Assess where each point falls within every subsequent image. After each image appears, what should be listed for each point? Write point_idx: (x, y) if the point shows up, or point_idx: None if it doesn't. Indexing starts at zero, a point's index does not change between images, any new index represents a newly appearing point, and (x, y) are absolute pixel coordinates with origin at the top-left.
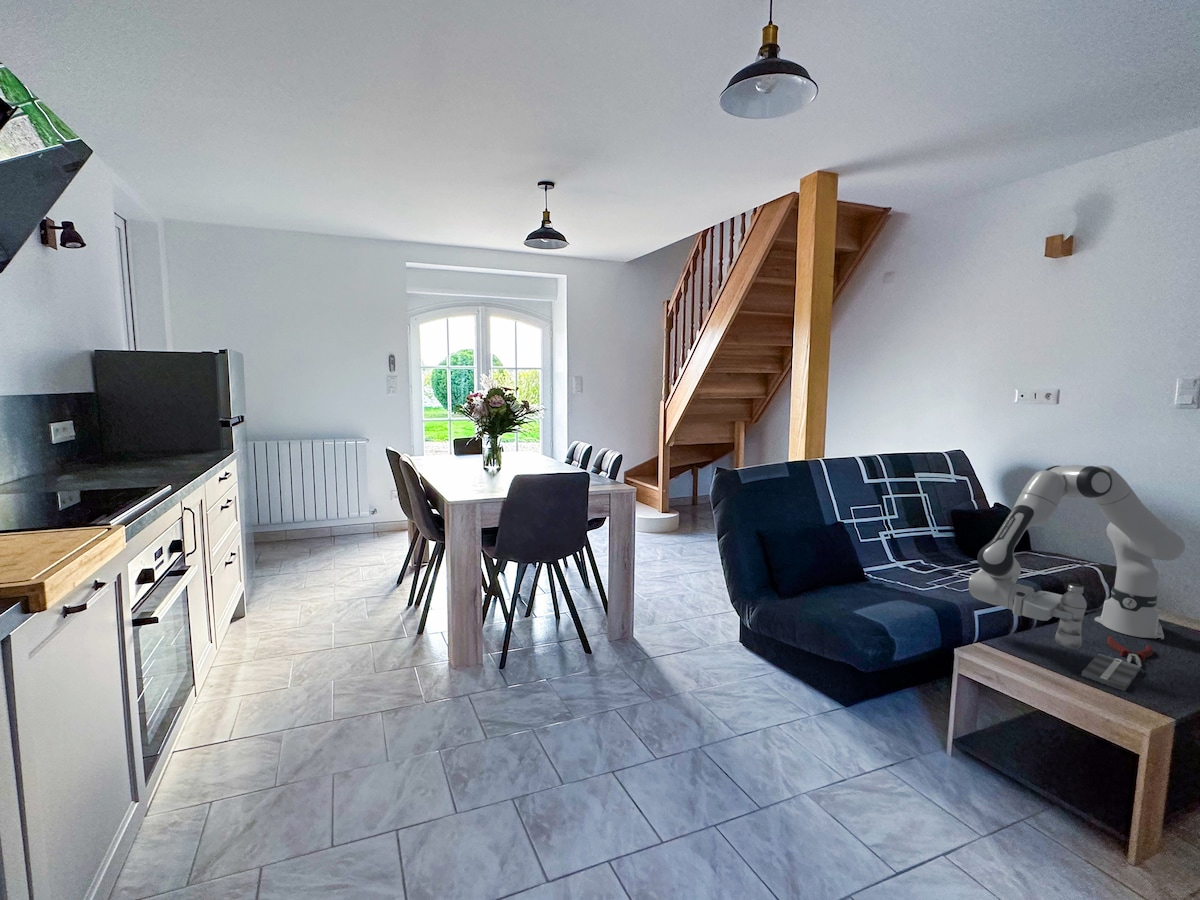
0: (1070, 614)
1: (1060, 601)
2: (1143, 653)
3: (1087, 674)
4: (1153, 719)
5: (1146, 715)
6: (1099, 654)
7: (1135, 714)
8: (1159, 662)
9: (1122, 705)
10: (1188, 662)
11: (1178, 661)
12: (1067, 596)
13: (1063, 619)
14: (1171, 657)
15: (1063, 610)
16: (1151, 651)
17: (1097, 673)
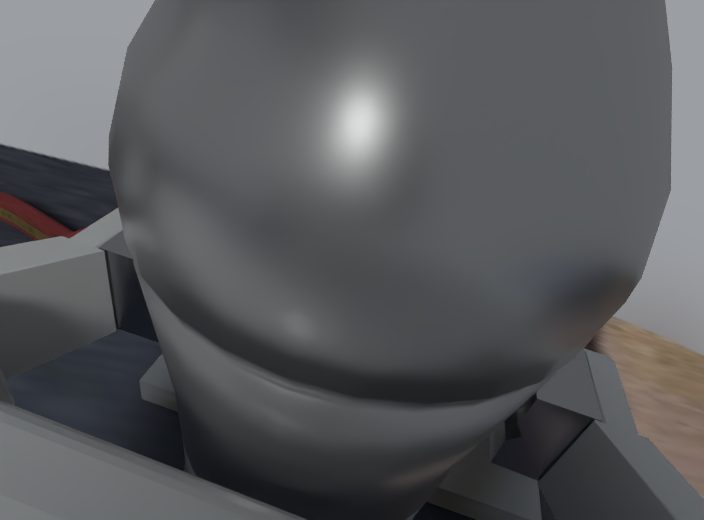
0: (613, 370)
1: (446, 385)
2: (59, 223)
3: (536, 498)
4: (671, 355)
5: (665, 365)
6: (157, 380)
7: (701, 393)
8: (92, 214)
9: (674, 416)
10: (57, 160)
11: (57, 174)
12: (669, 64)
13: (413, 516)
14: (18, 176)
15: (474, 444)
16: (17, 198)
17: (484, 443)
